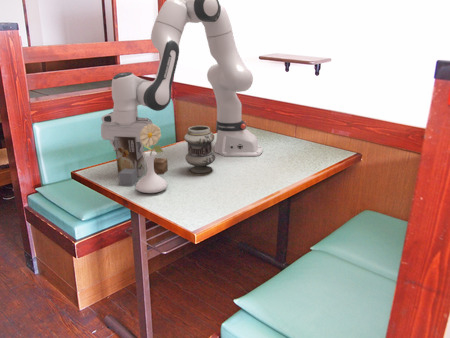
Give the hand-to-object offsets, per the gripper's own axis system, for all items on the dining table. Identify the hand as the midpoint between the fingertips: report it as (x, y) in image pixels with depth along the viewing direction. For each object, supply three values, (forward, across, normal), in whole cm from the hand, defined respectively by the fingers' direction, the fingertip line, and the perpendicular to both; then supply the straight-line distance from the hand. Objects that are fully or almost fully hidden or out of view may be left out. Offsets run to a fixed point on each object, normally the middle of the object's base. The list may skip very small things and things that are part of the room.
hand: (128, 151), depth 162 cm
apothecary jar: (+9, -26, -10) cm, 30 cm away
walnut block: (+10, -10, -6) cm, 15 cm away
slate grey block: (+10, -3, +8) cm, 13 cm away
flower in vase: (+10, -15, +13) cm, 22 cm away
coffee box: (+10, 0, -1) cm, 10 cm away
